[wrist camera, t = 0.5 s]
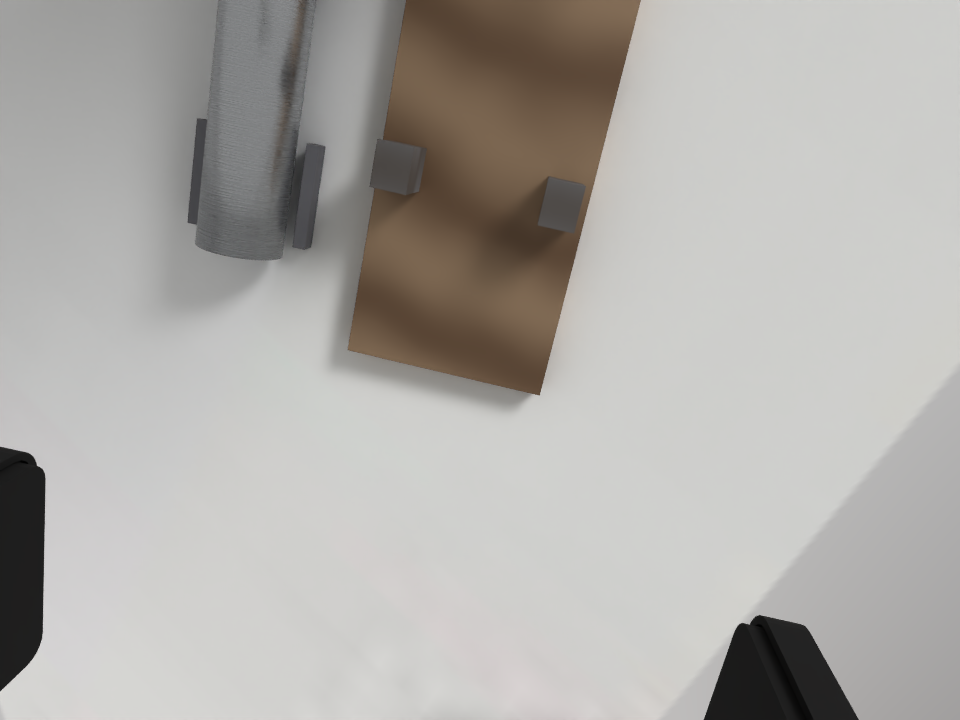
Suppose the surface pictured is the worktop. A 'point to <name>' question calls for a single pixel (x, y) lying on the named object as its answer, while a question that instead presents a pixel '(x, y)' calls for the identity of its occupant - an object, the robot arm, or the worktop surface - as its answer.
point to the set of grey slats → (307, 191)
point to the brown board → (486, 181)
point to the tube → (253, 125)
